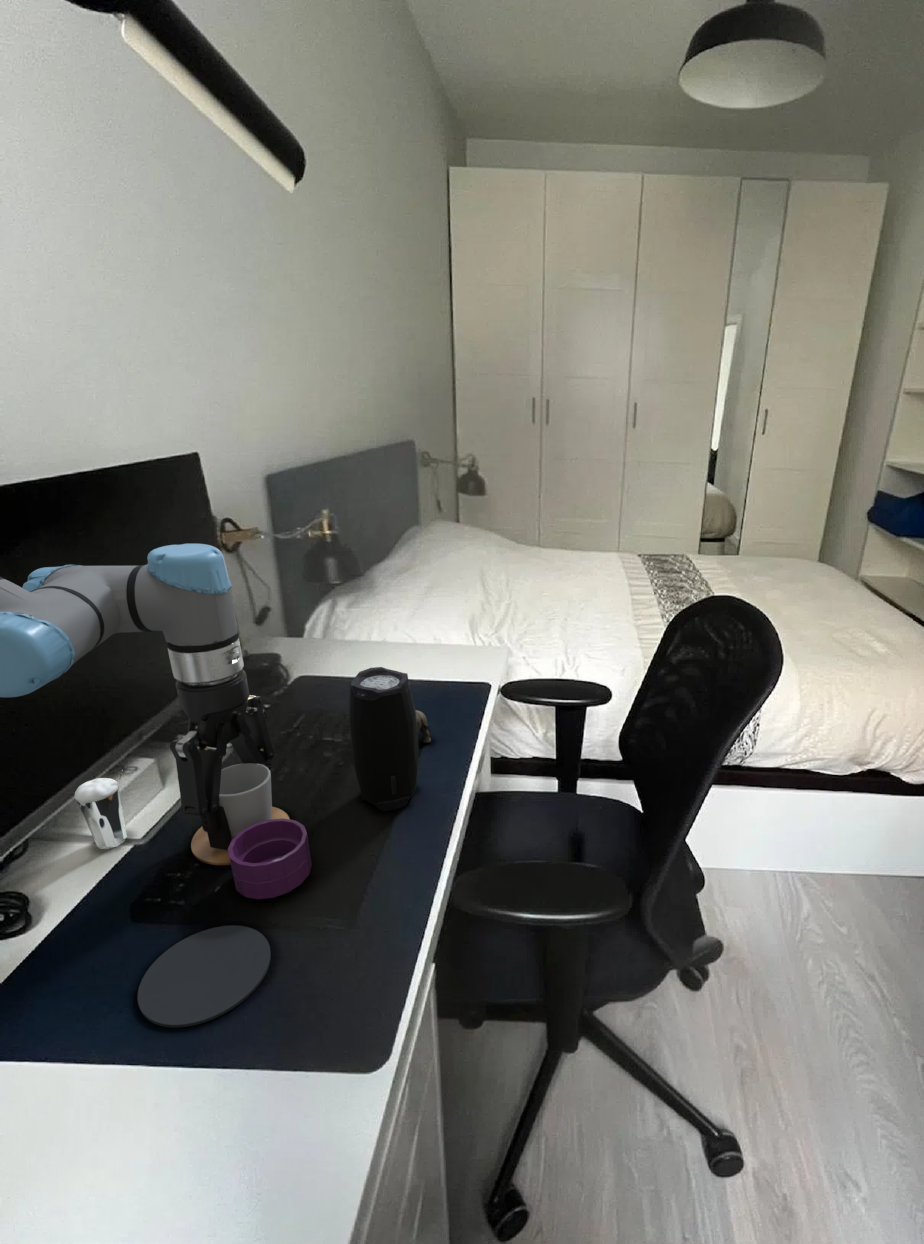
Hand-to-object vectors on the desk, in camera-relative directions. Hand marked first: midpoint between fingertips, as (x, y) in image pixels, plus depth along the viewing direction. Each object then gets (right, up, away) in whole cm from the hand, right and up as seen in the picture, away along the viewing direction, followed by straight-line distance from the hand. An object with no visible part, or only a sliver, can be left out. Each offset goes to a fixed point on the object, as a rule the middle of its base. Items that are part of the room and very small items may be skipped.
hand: (241, 828), depth 85 cm
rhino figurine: (+14, +9, +26) cm, 31 cm away
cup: (0, -1, 0) cm, 1 cm away
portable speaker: (+17, +2, +10) cm, 20 cm away
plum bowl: (+8, -4, -7) cm, 11 cm away
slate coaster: (+7, -9, -20) cm, 23 cm away
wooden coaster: (0, -1, 0) cm, 1 cm away
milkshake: (-16, -1, -2) cm, 16 cm away
